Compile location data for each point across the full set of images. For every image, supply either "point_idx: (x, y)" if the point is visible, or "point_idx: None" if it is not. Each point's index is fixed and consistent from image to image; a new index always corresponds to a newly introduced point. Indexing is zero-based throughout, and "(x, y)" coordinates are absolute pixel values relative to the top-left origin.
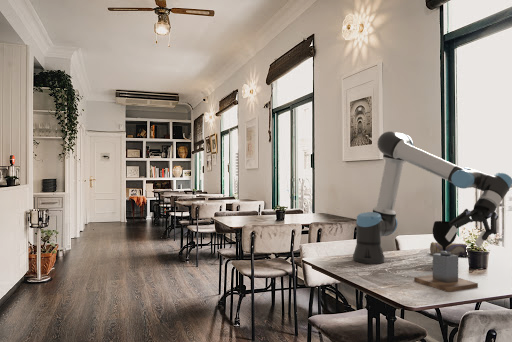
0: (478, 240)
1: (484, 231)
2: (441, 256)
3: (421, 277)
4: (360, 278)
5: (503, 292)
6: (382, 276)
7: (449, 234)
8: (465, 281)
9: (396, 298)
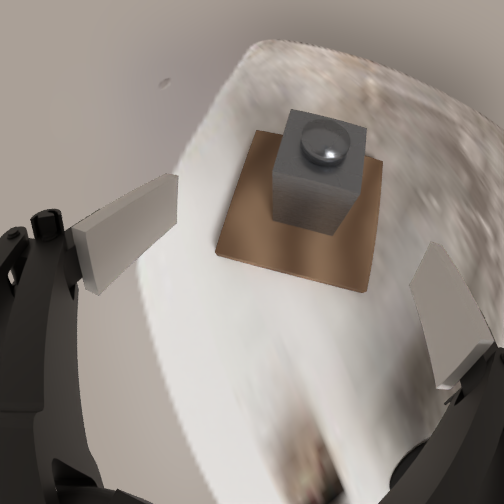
0: (149, 185)
1: (78, 228)
2: (318, 117)
3: (370, 172)
4: (438, 108)
5: (144, 260)
6: (441, 151)
7: (439, 272)
8: (254, 240)
9: (302, 50)
